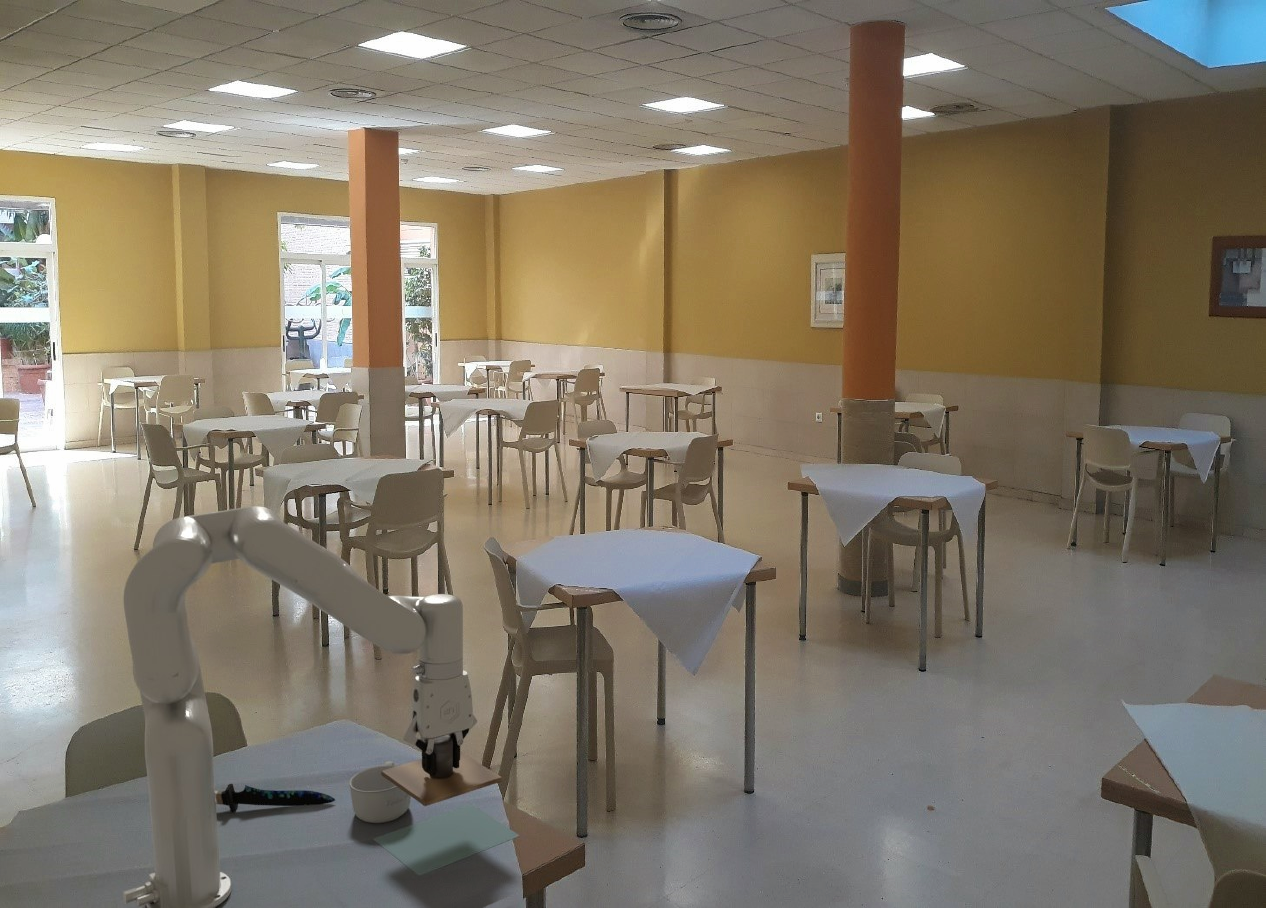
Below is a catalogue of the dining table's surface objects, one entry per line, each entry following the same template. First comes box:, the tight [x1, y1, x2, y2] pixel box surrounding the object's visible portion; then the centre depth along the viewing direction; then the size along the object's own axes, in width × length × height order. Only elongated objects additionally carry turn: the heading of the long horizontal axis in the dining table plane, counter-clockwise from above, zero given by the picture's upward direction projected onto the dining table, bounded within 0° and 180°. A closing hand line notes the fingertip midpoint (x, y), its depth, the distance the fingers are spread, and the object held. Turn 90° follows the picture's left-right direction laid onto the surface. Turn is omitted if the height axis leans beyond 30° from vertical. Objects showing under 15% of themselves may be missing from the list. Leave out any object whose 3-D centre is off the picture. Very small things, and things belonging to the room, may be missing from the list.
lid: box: [381, 735, 503, 807], centre depth 185 cm, size 15×15×7 cm
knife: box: [215, 783, 336, 814], centre depth 200 cm, size 31×3×4 cm, turn 94°
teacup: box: [348, 761, 412, 824], centre depth 198 cm, size 14×11×8 cm
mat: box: [372, 803, 521, 877], centre depth 188 cm, size 20×16×1 cm
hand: (441, 768), depth 186 cm, fingers closed on lid, 4 cm apart
